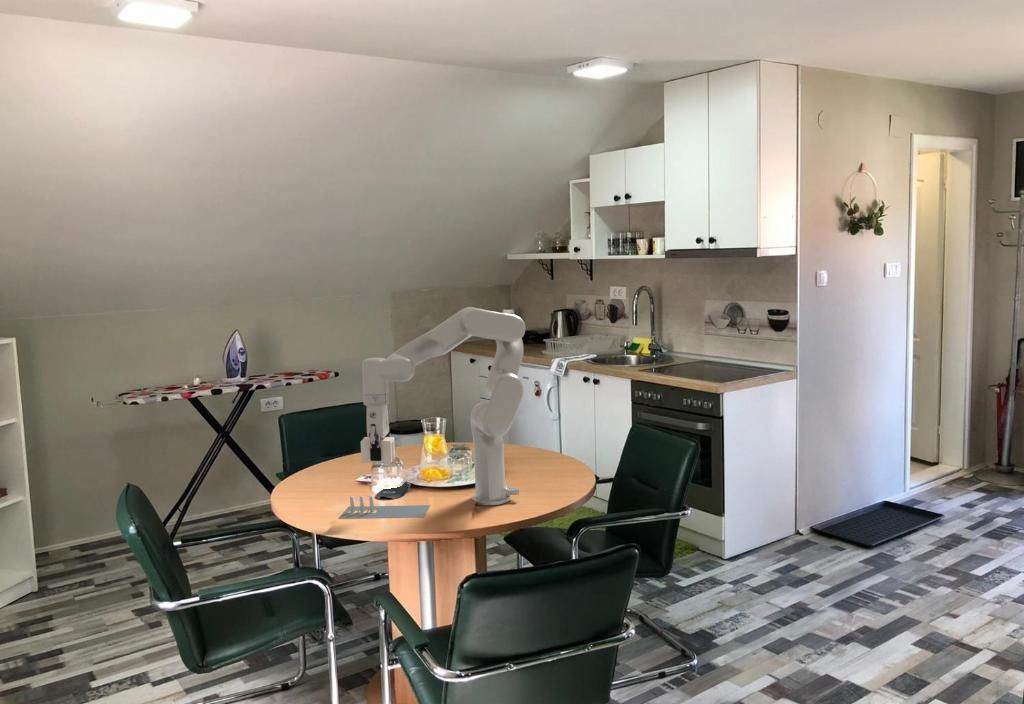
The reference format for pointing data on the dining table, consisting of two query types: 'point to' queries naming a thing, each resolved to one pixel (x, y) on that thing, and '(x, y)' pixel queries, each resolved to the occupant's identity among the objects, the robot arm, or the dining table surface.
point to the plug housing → (386, 450)
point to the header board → (382, 510)
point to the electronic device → (394, 492)
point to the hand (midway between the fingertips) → (378, 457)
